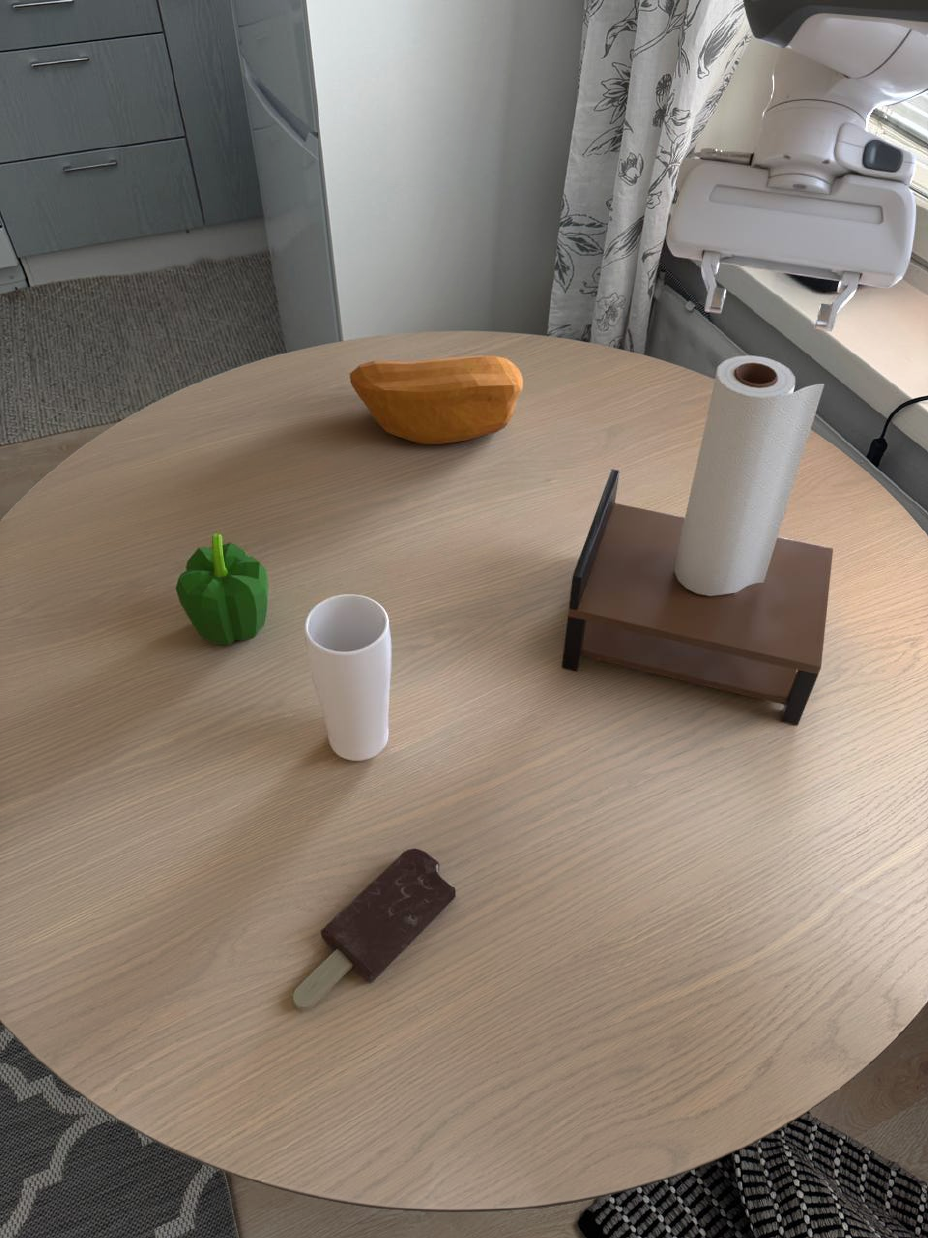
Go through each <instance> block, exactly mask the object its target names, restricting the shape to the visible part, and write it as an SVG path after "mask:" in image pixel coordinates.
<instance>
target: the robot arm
mask: <svg viewBox="0 0 928 1238" xmlns="http://www.w3.org/2000/svg"><path fill="white" fill-rule="evenodd" d="M742 1H743V7H744V12H745V16H746V19H747V21H748V22H747V23H748V25H749V28H750V30H751V33H752V35H753V37H754V38H755V39H756V40H760V41H763V42H766V43H768V44H771V45H774V46H776V47H778V49H777V54H776V56H775V61H774V66H773V70H772V83H773V84H772V85H773V87H772V94H771V97H770V100H769V102H768V104H767V105H766V107H765V109H764V111H763V112H762V113H763V114H762V117H761V121H760V125H759V130H758V134H757V137H756V138H757V139H756V141H755V146H754V150H753V152H742V151H736V150H735V151H733V150H732V151H727V150H718V149H716V148H711V147H705V148H704V147H703V148H701V149H700V151H697V152H693V153H691V154H689V155H688V156H686V157H685V158H684V159H683V160H682V161H681V163H680V165H679V167H678V171H677V176H676V179H675V180H676V181H675V189H676V192H677V194H678V196H677V198H676V202H675V204H674V207H673V210H672V213H671V216H670V219H669V223H668V226H667V230H666V245H667V247H668V249H669V251H670V253H671V255H672V256H673V257H676V258H681V259H688V260H696V261H701V266H700V271H701V272H700V273H701V277H702V281H703V283H704V286H705V288H706V292H707V295H706V299H705V304H704V312H706V313H713V314H720V315H721V314H722V311H723V308H724V307H723V306H724V302H725V299H726V293H727V288H724V287H719V286H718V285H717V281H716V279H715V275H717V274H718V270H719V267H720V264H723V265H728V266H736V267H740V268H741V267H742V268H749V269H756V270H762V271H768V272H774V273H775V272H776V273H782V274H789V275H796V276H801V277H802V276H803V277H808V278H816V279H823V280H830V281H835V282H839V283H838V286H837V290H836V292H837V293H838V294H839V295H838V296H837V297H836V298H835V299H834V300H833V302H832V303H831V304H830V303H820V305H819V307H818V311H817V315H816V320H815V322H814V330H815V329H816V330H820V331H825V332H832V331H833V329H834V327H835V323H836V319H837V316H838V312H840V310H841V309H842V308H843V307H844V306H845V305H846V304H847V303H848V302H849V300H850V299H852V297H854V295H855V293H856V291H857V288H858V287H859V285H862V286H869V287H876V288H883V289H889V288H893V286H895V285H896V284H897V283H898V282H900V280H902V279H903V278H904V276H905V275H906V272H907V271H908V268H909V266H910V265H909V264H910V261H911V257H912V252H913V246H914V240H915V232H916V221H917V201H916V198H915V195H914V193H913V191H912V190H911V188H910V186H911V183H912V182H913V178H914V175H915V171H916V165H917V157H916V155H915V154H914V153H913V152H911V151H910V150H907V149H906V148H903V147H901V146H899V145H897V144H895V143H893V142H890V141H888V140H887V139H884V138H882V137H880V136H878V135H876V134H874V133H872V132H870V131H869V130H868V126H869V125H868V124H869V118H870V115H871V113H872V112H873V110H875V109H876V108H877V107H879V106H883V107H889V106H890V107H891V106H894V105H898V104H902V103H903V102H906V101H909V100H911V99H914V98H916V97H919V96H921V95H923V94H926V93H928V0H742Z"/></svg>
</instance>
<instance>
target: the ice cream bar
mask: <svg viewBox="0 0 928 1238" xmlns="http://www.w3.org/2000/svg"><path fill="white" fill-rule="evenodd" d="M439 873H440V863H439V861H438V860H436V859H435V858H434V857H433V856H431V855H430V854H429V853H427V852H426V851H424V850H421V849H420V848H416V847H415V848H410V849H409V848H408V849H406V850H404V851H403V852H402V853H401V854H400V855H399V856H398V857H397V858H396V859H395V860H394V861H392V863H390V864H389V865H388V866H387V867H386V868H385V869H384V870H383V871H382V872H381V873H380V874H378V876H377V877H376V878H375V879H373V881H372V882H370V883H369V884H368V885H367V886H366V887H365V888H364V889H363V890H362V891H361V892H360V893H358V895H357V896H356V897H355V898H354V899H353V900H351V901H350V902H349V903H348V904H347V905H346V906H345V907H344V908H343V909H342V910H341V911H340V912H339V913H338V914H337V915H335V916H334V918H332V919H331V920H330V921H329V922H328V923H327V924H326V925H325V926H324V927H323V928H322V929H321V930H320V936H321V939H322V940H323V941H324V942H325V943H326V945H328V946H329V947H330V948H331V949H332V950H333V952H332V953H331V954H330V955H329V956H327V958H326V959H325V960H324V961H323V962H322V963H320V964H319V966H317V968H316V969H314V970H313V971H312V972H311V973H310V974H309V975H308V976H307V978H305V979H304V980H303V981H302V982H301V983H300V984H299V985H298V986H297V987H296V988H295V990H294V991H293V994H292V1000H293V1004H294V1005H295V1007H296V1008H298V1009H299V1010H301V1011H302V1010H303V1011H305V1010H310V1009H311V1008H313V1007H314V1006H315V1005H316V1004H317V1003H318V1002H319V1001H320V1000H322V998H323V997H324V996H325V995H326V994H327V993H328V992H330V990H331V989H332V988H333V987H334V986H335V985H336V984H337V983H338V982H339V981H340V980H341V979H342V978H344V976H345V975H346V974H347V973H348V972H349V971H350V970H351V969H353V970H354V971H355V972H356V973H357V974H358V975H359V976H360V977H362V978H363V979H364V980H366V981H367V982H369V983H370V984H372V983H373V982H374V981H376V979H377V978H378V977H379V976H380V975H381V974H382V973H383V972H384V971H385V970H386V969H387V968H388V967H389V966H390V965H391V964H392V963H393V962H394V961H395V960H396V959H397V958H398V957H399V956H400V955H401V954H402V953H403V952H404V951H405V950H406V949H407V948H408V946H410V945H411V944H412V942H413V941H414V940H416V939H417V937H419V935H420V934H421V933H422V932H423V931H424V930H425V929H426V928H427V927H428V926H429V925H430V924H431V923H432V922H433V921H434V920H435V919H436V918H437V917H438V916H439V915H440V914H441V913H442V912H443V911H444V910H445V909H446V908H447V907H448V906H449V905H450V904H451V903H452V902H453V901H454V899H456V897H457V896H456V895H457V893H456V892H457V889H456V886H453V885H451V884H450V883H448V882H447V881H446V880H445V879H444V878H442V876H440V875H439Z"/></svg>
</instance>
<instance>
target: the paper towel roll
mask: <svg viewBox="0 0 928 1238" xmlns="http://www.w3.org/2000/svg"><path fill="white" fill-rule="evenodd" d="M795 387H796V376H795V375H794V373H793V372H792V370H791V368H789V367H787V366H786V365H785V364H783V363H782V362H779V361H778V360H775V359H771V358H768V357H766V356H758V355H753V354H752V355H751V354H749V355H736V356H733V357H730V358H727V359H724V360H723V362H721V363H720V364H719V365H718V366H717V368H716V372H715V378H714V382H713V387H712V391H711V394H710V395H711V396H710V401H709V405H708V410H707V414H706V420H705V424H704V427H703V433H702V437H701V442H700V446H699V452H698V455H697V460H696V465H695V470H694V475H693V480H692V484H691V487H690V493H689V497H688V502H687V506H686V507H687V508H686V511H685V516H684V517H685V521H684V525H683V530H682V534H681V539H680V544H679V548H678V553H677V558H676V562H675V569H674V572H675V574H676V577H677V579H678V581H679V582H680V583H681V584H682V585H683V586H684V587H685V588H687V589H689V590H691V591H693V592H695V593H697V594H702V595H707V596H715V595H723V594H729V593H736V592H738V591H740V590H741V589H743V588H745V587H746V586H749V585H752V584H755V583H763V582H764V579H765V576H766V573H767V569H768V566H769V563H770V560H771V556H772V553H773V550H774V547H775V543H776V540H777V537H779V533H780V530H781V527H782V524H783V520H784V517H785V514H786V510H787V508H788V504H789V500H790V497H791V495H792V492H793V488H794V485H795V481H796V478H797V474H798V471H799V468H800V465H801V461H802V459H803V456H804V452H805V449H806V445H807V442H808V438H809V436H810V433H811V429H812V425H813V423H814V419H815V416H816V412H817V410H818V407H819V403H820V400H821V397H822V394H823V390H824V387H825V383H816V384H813V385H812V384H811V385H807V386H804V387H802V388H800V389H798V390H796V391H795Z"/></svg>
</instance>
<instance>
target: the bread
mask: <svg viewBox="0 0 928 1238" xmlns="http://www.w3.org/2000/svg"><path fill="white" fill-rule="evenodd" d="M349 381H350V384H351V387H352V388H353V389H354V392H355V393H356V394H357V396H358V397H359V398H360V400H361V401H362V403H363V404H364V405H365V406H366V408H367V409H368V411H369V413H370V414H371V415H372V417H373V418H374V420H375V421H376V422H377V423H378V425H379V426H380V427H381V428H382V429H383V430H384V431H385V432H386V433H388V434H391V435H393V436H396V437H398V438H400V439H401V438H402V439H404V440H407V441H409V442H413V443H417V444H422V445H443V444H451V443H459V442H465V441H470V440H471V441H472V440H474V439H478V438H481V437H483V436H486V435H489V434H494V433H495V434H496V433H497V432H498V431H500V430H502V429H505V427H506V426H507V425H508V424H509V423H510V422H511V420H512V419H513V416H514V414H515V409H516V407H517V403H518V401H519V398H520V396H521V394H522V391H523V385H524V384H523V383H524V378H523V376H522V373H521V371H520V370H519V368H518V366H517V365H516V364H515V363H514V362H512V361H510V360H509V359H507V358H506V357H502V356H496V355H470V356H469V355H468V356H457V357H441V358H440V357H439V358H430V359H429V358H428V359H423V360H422V359H421V360H413V361H412V360H411V361H397V360H396V361H394V360H372V361H368V362H365V363H361V364H359V365H358V366H357V367H356V368H355V369H353V370H352V371H351V372H349Z"/></svg>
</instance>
